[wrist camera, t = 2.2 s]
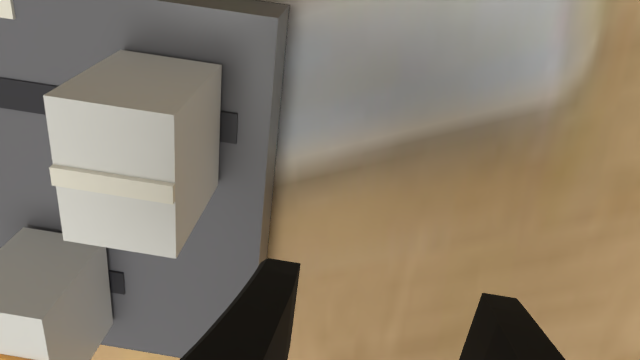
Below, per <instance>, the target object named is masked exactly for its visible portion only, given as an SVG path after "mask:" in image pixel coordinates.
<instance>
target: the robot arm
mask: <svg viewBox="0 0 640 360" xmlns="http://www.w3.org/2000/svg"><path fill="white" fill-rule="evenodd" d="M299 271H300V263H294V262H288V261H281V260H275V259H269V258H267V259H265V260H264V261H262V262H261V263H260V264H259V266H258V268H257V269H256V271H255V272H254V274H253V275H252V277H251V278H250V279H249V281H248V282H247V284H246V285H245V286H244V288H243V289H242V290H241V292H240V293H239V294H238V295H237V297H236V298H235V299H234V300H233V302H232V303H231V304H230V305H229V306H228V308H227V309H226V310H225V311H224V312H223V313H222V315H221V316H220V317H219V318H218V319H217V320H216V321H215V323H214V324H213V325H212V326H211V327H210V328H209V329H208V331H207V332H206V333H205V334H204V335H203V336H202V337H201V338H200V339H199V340H198V342H197V343H196V344H195V345H194V346H193V347H192V348H191V349H190V350H189V351H188V352H187V353H186V354H185V355H184V356H183V357H182V358H181V359H180V360H287V358H288V353H289V348H290V341H291V333H292V325H293V318H294V310H295V302H296V294H297V286H298V278H299ZM459 360H565V359H564V357H563V356H562V355H561V354H560V352H559V351H558V350H557V349H556V347H555V346H554V345H553V343H552V342H551V341H550V340H549V338H548V337H547V336H546V335H545V333H544V332H543V331H542V329H541V328H540V327H539V326H538V324H537V323H536V322H535V321H534V319H533V318H532V317H531V315H530V314H529V313H528V312H527V310H526V309H525V308H524V307H523V305H522V304H521V303H520V302H519V301H518V299H517V298H511V297H505V296H499V295H492V294H486V293H482V296H481V298H480V301H479V304H478V307H477V310H476V313H475V316H474V319H473V321H472V324H471V327H470V330H469V333H468V336H467V339H466V342H465V344H464V347H463V350H462V353H461V356H460V359H459Z"/></svg>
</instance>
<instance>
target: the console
mask: <svg viewBox="0 0 640 360" xmlns="http://www.w3.org/2000/svg"><path fill="white" fill-rule="evenodd" d="M288 16H289V5H285V4H278V3H272V2H265V1H258V0H0V248H1V247H2V246H4V245H5V244H6V243H7V242H8V241H9V240H10V239H11V238H12V237H13V236H14V235H15V234H17V233H18V232H19V231H20V230H21V229H22V228H23V227H25V228H31V229H38V230H44V231H50V232H56V233H62V226H61V219H60V212H59V205H58V198H57V191H56V186H52V184H51V177H50V170H49V167H50V166H51V165H52V164H53V162H52V155H51V148H50V141H49V134H48V127H47V120H46V113H45V105H44V98H43V95H44V94H46V93H48V92H50V91H51V90H53V89H55V88H56V87H58V86H60V85H61V84H63V83H65V82H67V81H68V80H70V79H72V78H73V77H75V76H77V75H78V74H80V73H82V72H84V71H85V70H87V69H89V68H90V67H92V66H94V65H95V64H97V63H99V62H101V61H102V60H104V59H106V58H107V57H109V56H111V55H112V54H114V53H116V52H117V51H119V50H125V51H132V52H139V53H145V54H152V55H159V56H165V57H172V58H179V59H186V60H192V61H199V62H206V63H212V64H219V65H222V74H221V107H220V140H219V173H218V186H217V188H216V189H215V191H214V193H213V195H212V196H211V198H210V200H209V202H208V203H207V205H206V207H205V209H204V211H203V212H202V214H201V216H200V218H199V219H198V221H197V223H196V225H195V226H194V228H193V230H192V232H191V233H190V235H189V237H188V239H187V240H186V242H185V244H184V246H183V248H182V249H181V251H180V253H179V255H178V256H177V258H176V259H175V258H168V257H162V256H156V255H150V254H144V253H138V252H131V251H125V250H119V249H113V248H107V247H106V253H107V264H108V275H109V285H110V296H111V307H112V317H113V325H112V326H111V328H110V329H109V331H108V333H107V334H106V336H105V337H104V339H103V341H102V342H101V345H107V346H113V347H119V348H125V349H131V350H137V351H143V352H149V353H155V354H161V355H166V356H172V357H178V358H182V357H183V356H184V355H185V354H186V353H187V352H188V351H189V350H190V349H191V348H192V347H193V346H194V345H195V344H196V343H197V342H198V340H199V339H200V338H201V337H202V336H203V335H204V334H205V333H206V332H207V331H208V329H209V328H210V327H211V326H212V325H213V324H214V323H215V321H216V320H217V319H218V318H219V317H220V316H221V315H222V313H223V312H224V311H225V310H226V309H227V308H228V306H229V305H230V304H231V303H232V302H233V300H234V299H235V298H236V297H237V295H238V294H239V293H240V292H241V290H242V289H243V288H244V286H245V285H246V284H247V282H248V281H249V279H250V278H251V277H252V275H253V274H254V272H255V271H256V269H257V268H258V266H259V264H260V263H261V262H262V261H264V260H265V259H267V253H268V241H269V230H270V219H271V207H272V196H273V185H274V174H275V162H276V151H277V140H278V129H279V117H280V106H281V95H282V83H283V72H284V61H285V50H286V38H287V27H288Z"/></svg>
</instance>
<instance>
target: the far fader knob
mask: <svg viewBox="0 0 640 360" xmlns="http://www.w3.org/2000/svg"><path fill="white" fill-rule="evenodd" d="M112 325H113V317H112V307H111V296H110V285H109V275H108V264H107V253H106V247H101V246H94V245H88V244H82V243H76V242H70V241H64V240H63V234H62V233H56V232H50V231H44V230H38V229H31V228H25V227H23V228H22V229H21V230H20V231H19V232H18V233H17V234H15V235H14V236H13V237H12V238H11V239H10V240H9V241H8V242H7V243H6V244H5V245H4V246H2V247H1V248H0V360H91V358H92V356H93V355H94V353H95V352H96V350H97V348H98V347H99V345H100V344H101V342H102V341H103V339H104V337H105V336H106V334H107V333H108V331H109V329H110V328H111V326H112Z"/></svg>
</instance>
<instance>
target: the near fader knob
mask: <svg viewBox="0 0 640 360" xmlns="http://www.w3.org/2000/svg"><path fill="white" fill-rule="evenodd" d="M221 74H222V65H219V64H212V63H206V62H199V61H192V60H186V59H179V58H172V57H165V56H159V55H152V54H145V53H139V52H132V51H125V50H119V51H117V52H116V53H114V54H112V55H111V56H109V57H107V58H106V59H104V60H102V61H101V62H99V63H97V64H95V65H94V66H92V67H90V68H89V69H87V70H85V71H84V72H82V73H80V74H78V75H77V76H75V77H73V78H72V79H70V80H68V81H67V82H65V83H63V84H61V85H60V86H58V87H56V88H55V89H53V90H51V91H50V92H48V93H46V94H44V95H43V98H44V105H45V113H46V120H47V127H48V134H49V141H50V148H51V155H52V162H53V164H52V165H51V166H50V167H49V170H50V177H51V184H52V186H56V191H57V198H58V205H59V212H60V219H61V226H62V234H63V240H64V241H70V242H76V243H82V244H88V245H94V246H101V247H107V248H113V249H119V250H125V251H131V252H138V253H144V254H150V255H156V256H162V257H168V258H175V259H176V258H177V256H178V255H179V253H180V251H181V249H182V248H183V246H184V244H185V242H186V240H187V239H188V237H189V235H190V233H191V232H192V230H193V228H194V226H195V225H196V223H197V221H198V219H199V218H200V216H201V214H202V212H203V211H204V209H205V207H206V205H207V203H208V202H209V200H210V198H211V196H212V195H213V193H214V191H215V189H216V188H217V186H218V173H219V140H220V107H221Z"/></svg>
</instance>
